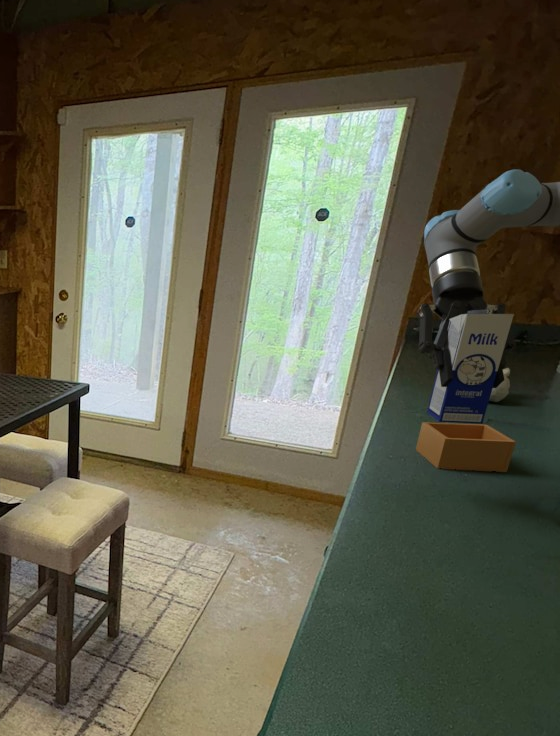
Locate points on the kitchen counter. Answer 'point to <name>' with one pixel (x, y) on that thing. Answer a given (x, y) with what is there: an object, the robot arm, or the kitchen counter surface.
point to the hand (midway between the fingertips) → (472, 383)
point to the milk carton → (470, 366)
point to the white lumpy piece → (501, 388)
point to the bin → (465, 447)
